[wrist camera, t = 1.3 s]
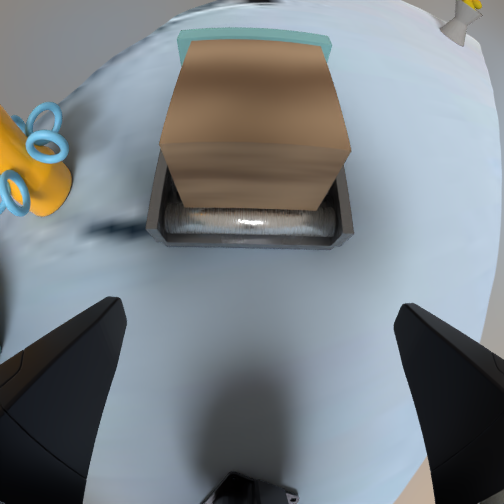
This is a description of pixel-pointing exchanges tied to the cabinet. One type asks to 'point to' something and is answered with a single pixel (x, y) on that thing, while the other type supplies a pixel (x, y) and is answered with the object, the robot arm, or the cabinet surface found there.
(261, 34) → the stop bar
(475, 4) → the lava lamp
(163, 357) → the cabinet surface
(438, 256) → the cabinet surface
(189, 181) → the brown wooden block
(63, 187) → the orange post with rings
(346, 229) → the roller bed
